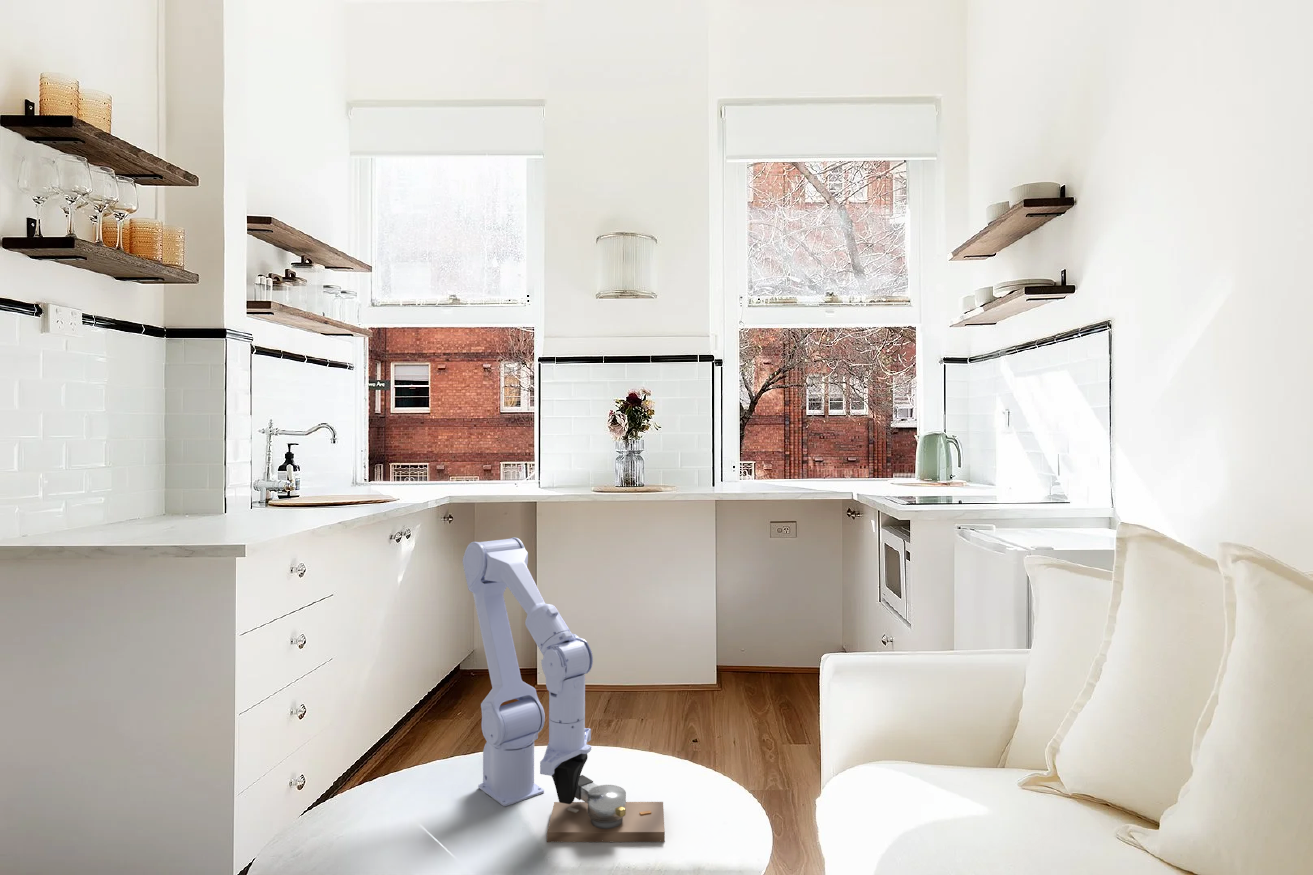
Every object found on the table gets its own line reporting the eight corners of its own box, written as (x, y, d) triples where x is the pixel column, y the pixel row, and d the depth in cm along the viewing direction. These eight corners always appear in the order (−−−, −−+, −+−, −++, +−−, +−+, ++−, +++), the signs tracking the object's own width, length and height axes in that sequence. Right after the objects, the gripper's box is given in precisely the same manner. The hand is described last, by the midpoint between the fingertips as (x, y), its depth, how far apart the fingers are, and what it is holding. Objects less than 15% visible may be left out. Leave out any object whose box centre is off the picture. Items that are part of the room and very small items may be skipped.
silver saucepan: (637, 816, 119) (638, 796, 119) (607, 828, 115) (607, 809, 115) (590, 787, 129) (590, 769, 129) (560, 798, 125) (560, 780, 125)
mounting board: (554, 810, 126) (554, 795, 126) (663, 810, 127) (663, 795, 127) (546, 841, 117) (547, 825, 117) (664, 841, 117) (664, 825, 117)
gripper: (569, 737, 115) (569, 827, 115) (607, 704, 128) (607, 785, 128) (528, 730, 117) (527, 819, 117) (569, 699, 131) (569, 779, 131)
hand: (566, 801), depth 123 cm, fingers closed
